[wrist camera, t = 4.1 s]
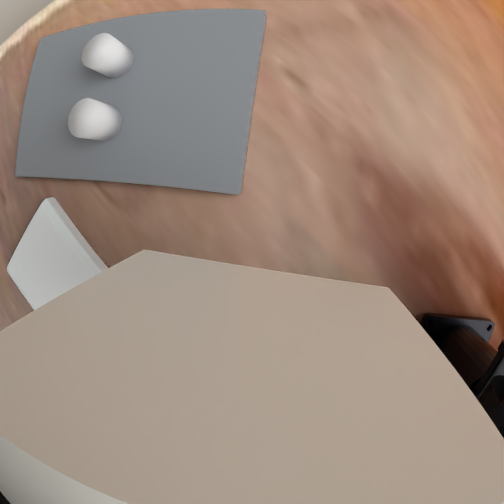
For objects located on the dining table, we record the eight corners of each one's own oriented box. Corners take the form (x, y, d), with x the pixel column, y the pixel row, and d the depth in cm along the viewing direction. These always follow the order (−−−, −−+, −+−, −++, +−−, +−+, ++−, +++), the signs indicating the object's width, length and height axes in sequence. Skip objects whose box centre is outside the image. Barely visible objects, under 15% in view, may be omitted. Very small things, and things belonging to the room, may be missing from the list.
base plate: (266, 18, 14) (261, -13, 11) (241, 194, 17) (229, 197, 14) (47, 41, 16) (19, 29, 12) (23, 175, 18) (-9, 178, 15)
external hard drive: (58, 195, 19) (168, 329, 20) (17, 266, 21) (109, 379, 22) (43, 197, 17) (160, 340, 19) (4, 271, 19) (99, 390, 20)
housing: (143, 249, 7) (-68, 376, 2) (388, 287, 7) (532, 489, 1) (155, 476, 10) (105, 588, 4) (302, 502, 9) (297, 626, 3)
